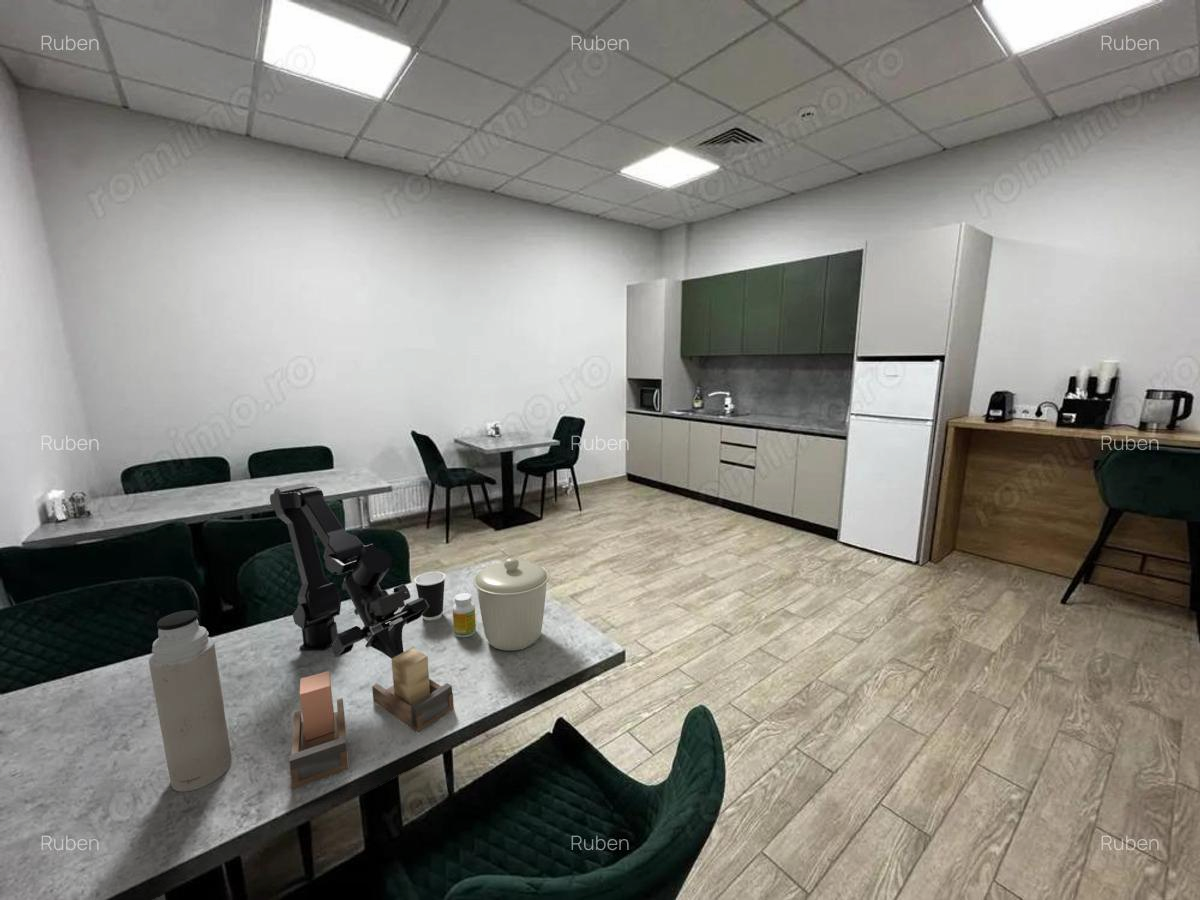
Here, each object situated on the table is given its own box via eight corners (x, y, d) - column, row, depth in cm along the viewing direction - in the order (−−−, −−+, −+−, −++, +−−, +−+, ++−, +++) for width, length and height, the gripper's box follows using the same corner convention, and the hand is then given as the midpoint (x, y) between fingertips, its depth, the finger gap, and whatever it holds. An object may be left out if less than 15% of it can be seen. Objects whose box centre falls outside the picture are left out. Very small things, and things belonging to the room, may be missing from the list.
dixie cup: (453, 616, 132) (451, 577, 130) (424, 627, 126) (422, 587, 124) (439, 605, 137) (437, 568, 135) (411, 615, 132) (409, 577, 130)
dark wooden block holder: (296, 729, 91) (293, 705, 90) (344, 714, 95) (341, 691, 94) (292, 789, 78) (289, 762, 77) (348, 769, 82) (345, 743, 81)
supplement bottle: (469, 639, 121) (468, 602, 119) (449, 636, 122) (447, 600, 120) (479, 627, 126) (477, 592, 124) (460, 625, 127) (458, 590, 125)
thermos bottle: (157, 793, 77) (127, 631, 72) (194, 754, 85) (169, 605, 80) (211, 790, 78) (184, 629, 73) (242, 751, 86) (220, 603, 81)
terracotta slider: (305, 723, 91) (300, 678, 89) (334, 714, 93) (329, 670, 91) (305, 740, 86) (299, 694, 85) (334, 731, 89) (329, 685, 87)
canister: (564, 644, 118) (562, 562, 115) (493, 670, 108) (489, 581, 105) (530, 613, 133) (528, 539, 129) (465, 633, 123) (461, 554, 119)
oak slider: (394, 700, 97) (391, 658, 95) (415, 688, 100) (412, 647, 99) (409, 711, 94) (406, 667, 92) (430, 697, 98) (427, 656, 96)
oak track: (373, 701, 98) (371, 679, 98) (408, 680, 105) (407, 659, 104) (418, 733, 90) (416, 709, 89) (453, 708, 96) (452, 686, 95)
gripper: (332, 595, 90) (370, 670, 86) (421, 561, 105) (457, 624, 101) (316, 621, 96) (351, 693, 92) (402, 586, 111) (435, 647, 107)
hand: (402, 662), depth 97 cm, fingers closed, pressing on oak slider
